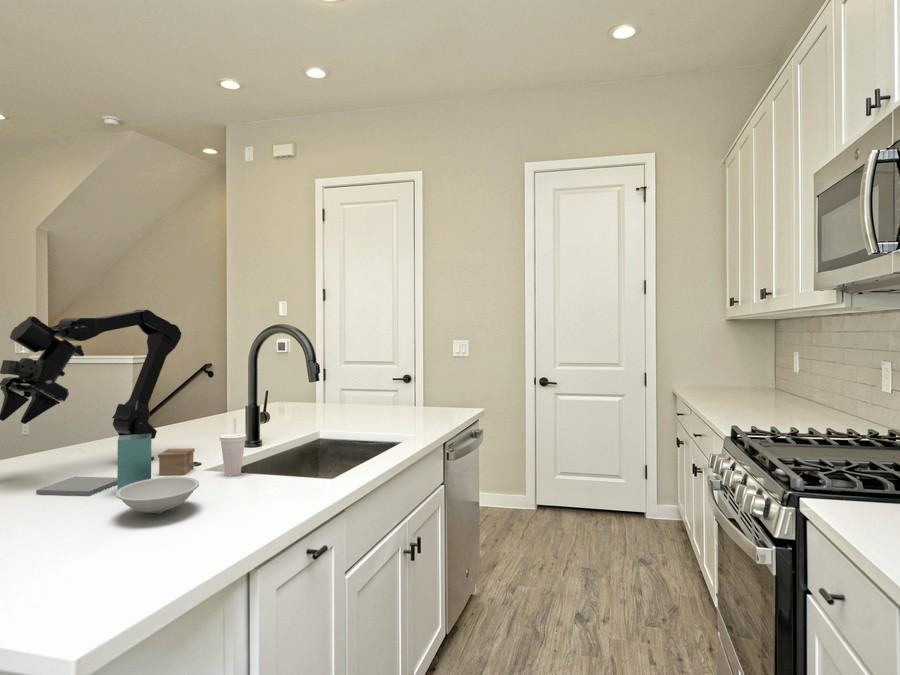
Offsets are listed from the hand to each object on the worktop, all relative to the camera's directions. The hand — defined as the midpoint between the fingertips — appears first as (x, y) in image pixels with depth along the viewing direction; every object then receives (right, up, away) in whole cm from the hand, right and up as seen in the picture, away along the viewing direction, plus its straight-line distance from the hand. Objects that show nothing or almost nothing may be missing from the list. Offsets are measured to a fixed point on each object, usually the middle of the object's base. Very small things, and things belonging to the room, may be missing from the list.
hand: (11, 421), depth 135 cm
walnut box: (+30, -15, +15) cm, 37 cm away
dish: (+43, -16, -18) cm, 49 cm away
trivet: (+17, -15, -1) cm, 22 cm away
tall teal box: (+29, -15, -3) cm, 33 cm away
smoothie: (+45, -15, +13) cm, 50 cm away
